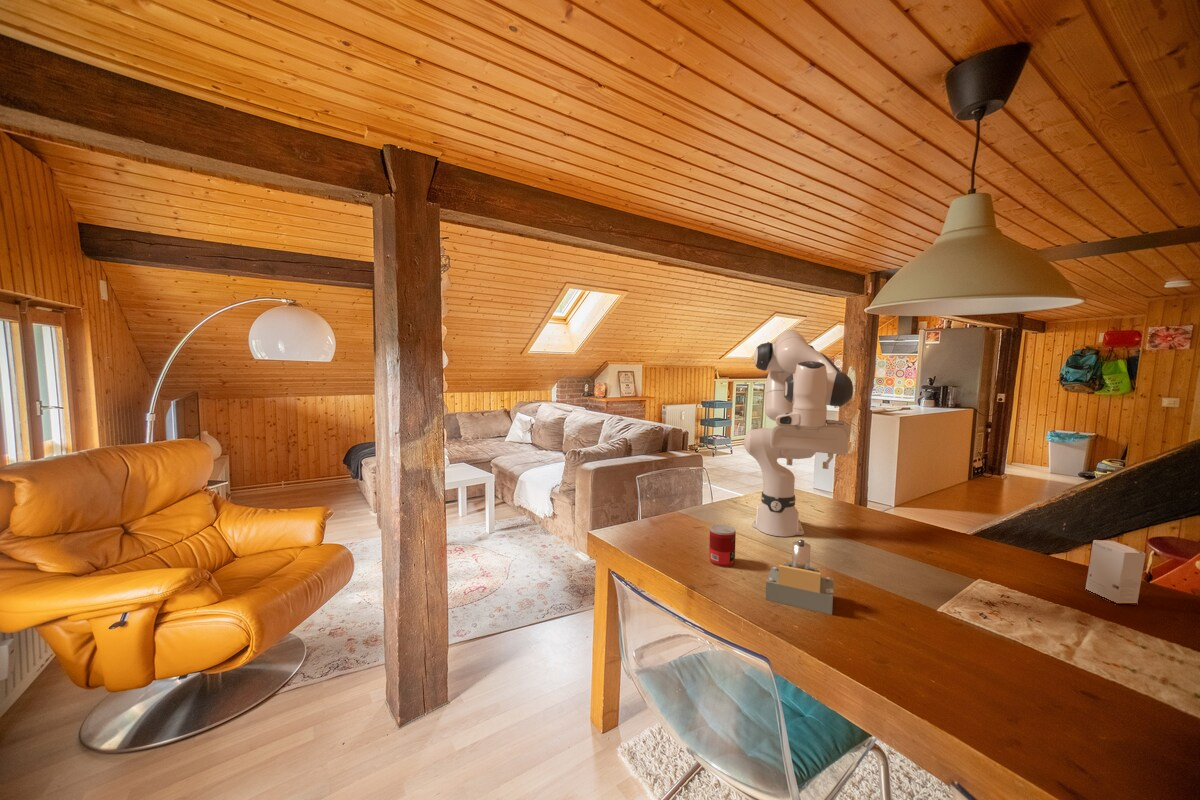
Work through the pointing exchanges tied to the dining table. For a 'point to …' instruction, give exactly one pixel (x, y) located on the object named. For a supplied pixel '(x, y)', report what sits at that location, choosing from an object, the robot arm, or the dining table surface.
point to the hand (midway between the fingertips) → (807, 466)
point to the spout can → (801, 555)
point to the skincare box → (1115, 571)
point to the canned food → (722, 545)
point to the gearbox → (800, 588)
